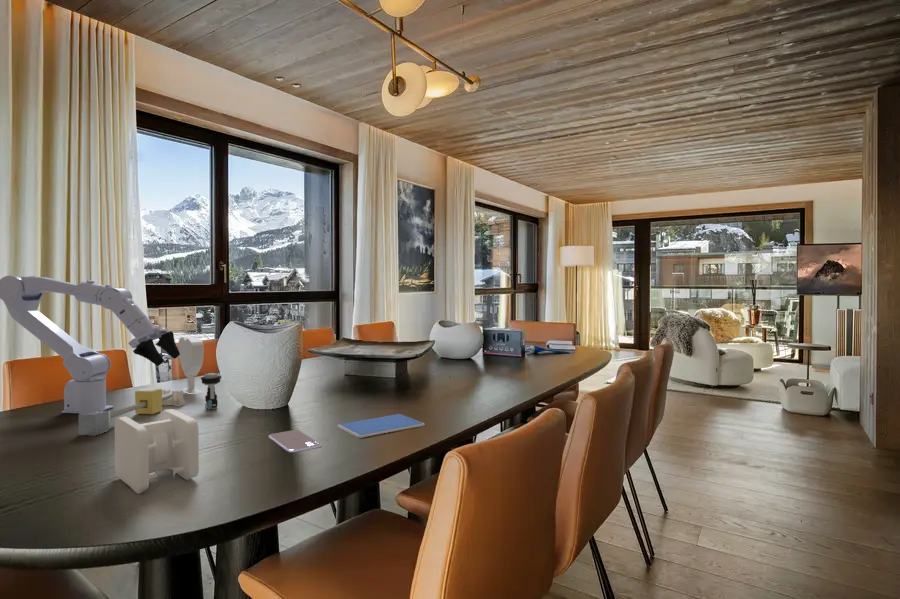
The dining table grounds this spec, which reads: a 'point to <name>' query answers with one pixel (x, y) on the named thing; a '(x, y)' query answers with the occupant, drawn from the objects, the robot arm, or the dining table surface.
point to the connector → (94, 422)
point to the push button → (211, 389)
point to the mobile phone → (294, 441)
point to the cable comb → (173, 397)
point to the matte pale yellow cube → (149, 400)
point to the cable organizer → (156, 448)
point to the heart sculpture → (191, 359)
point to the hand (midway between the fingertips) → (169, 360)
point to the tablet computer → (380, 425)
